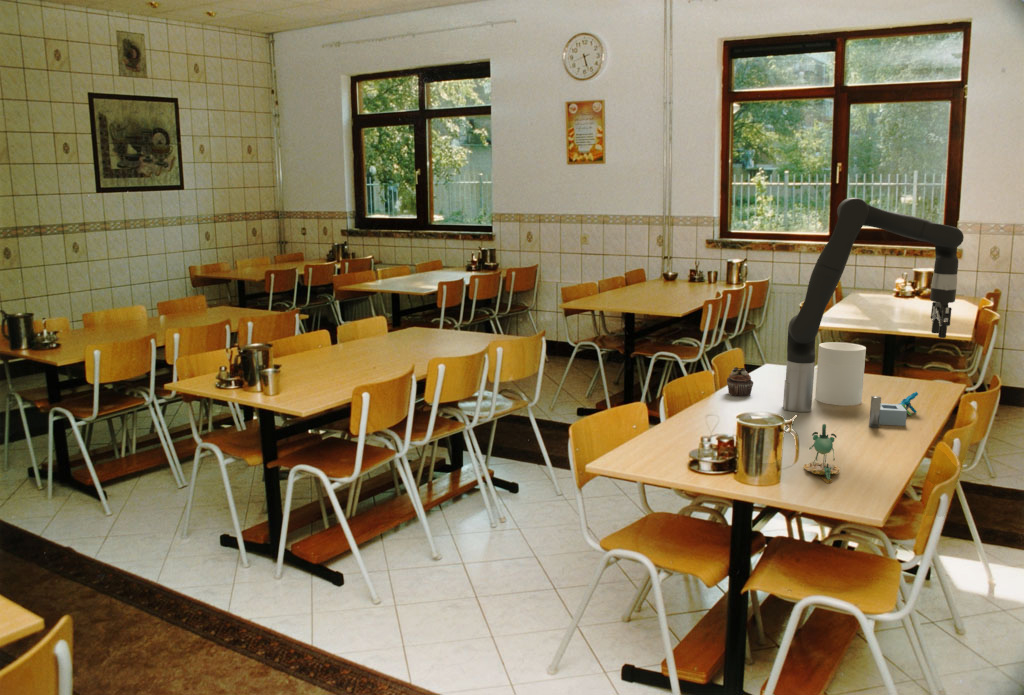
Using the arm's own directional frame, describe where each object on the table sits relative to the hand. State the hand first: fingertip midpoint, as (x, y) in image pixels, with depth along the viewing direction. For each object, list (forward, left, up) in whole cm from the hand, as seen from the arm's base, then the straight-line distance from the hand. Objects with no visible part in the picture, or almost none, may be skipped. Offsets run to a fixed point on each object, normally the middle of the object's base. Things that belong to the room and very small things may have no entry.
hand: (938, 335), depth 296 cm
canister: (-27, +18, -28) cm, 43 cm away
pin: (-21, -17, -28) cm, 39 cm away
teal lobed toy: (-7, +5, -29) cm, 30 cm away
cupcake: (-62, +19, -28) cm, 71 cm away
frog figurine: (-44, -69, -29) cm, 87 cm away
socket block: (-15, -9, -28) cm, 33 cm away
